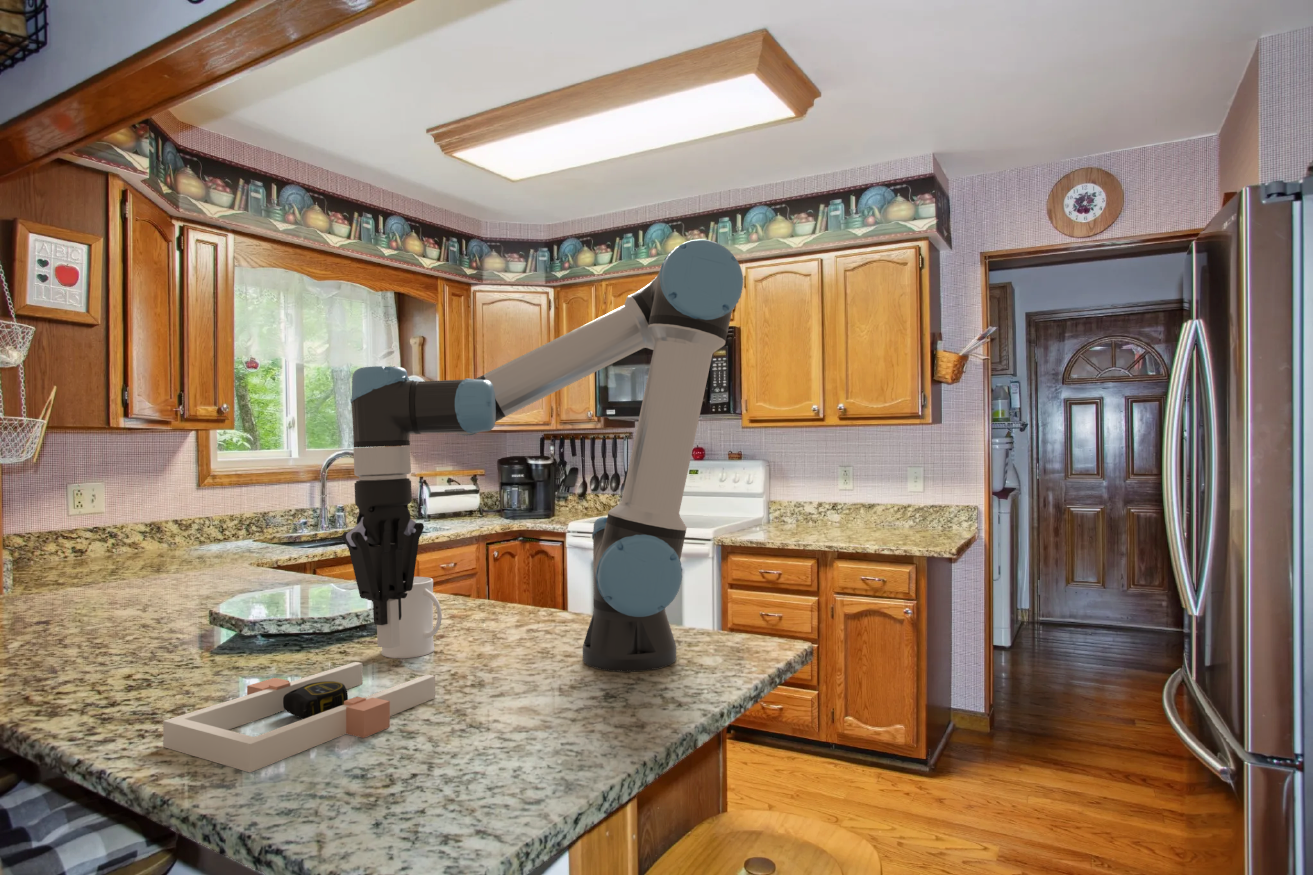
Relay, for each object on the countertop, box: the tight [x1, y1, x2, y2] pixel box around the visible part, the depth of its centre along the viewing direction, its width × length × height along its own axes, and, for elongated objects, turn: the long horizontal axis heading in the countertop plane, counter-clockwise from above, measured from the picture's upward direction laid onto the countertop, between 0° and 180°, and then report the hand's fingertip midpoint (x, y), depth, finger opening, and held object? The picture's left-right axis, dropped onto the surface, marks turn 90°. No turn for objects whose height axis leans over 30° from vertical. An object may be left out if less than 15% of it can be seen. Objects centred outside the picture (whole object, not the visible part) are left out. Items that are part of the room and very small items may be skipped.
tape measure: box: [283, 681, 349, 720], centre depth 100 cm, size 7×7×4 cm
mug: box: [380, 576, 443, 659], centre depth 131 cm, size 12×8×12 cm
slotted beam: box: [162, 661, 436, 773], centre depth 99 cm, size 22×28×3 cm
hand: (388, 646), depth 109 cm, fingers closed
